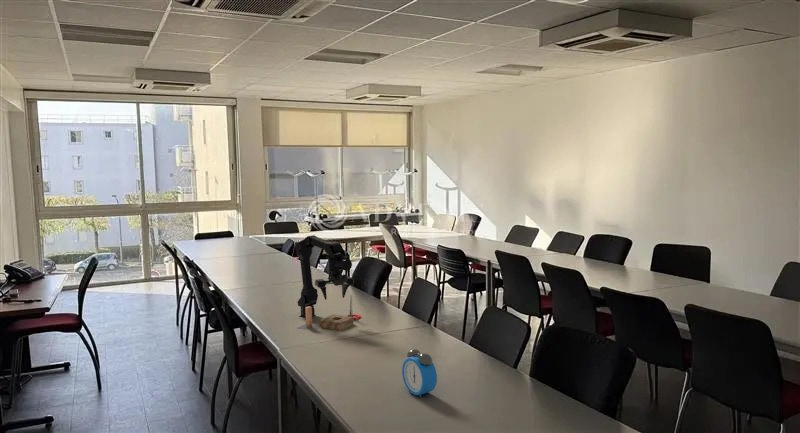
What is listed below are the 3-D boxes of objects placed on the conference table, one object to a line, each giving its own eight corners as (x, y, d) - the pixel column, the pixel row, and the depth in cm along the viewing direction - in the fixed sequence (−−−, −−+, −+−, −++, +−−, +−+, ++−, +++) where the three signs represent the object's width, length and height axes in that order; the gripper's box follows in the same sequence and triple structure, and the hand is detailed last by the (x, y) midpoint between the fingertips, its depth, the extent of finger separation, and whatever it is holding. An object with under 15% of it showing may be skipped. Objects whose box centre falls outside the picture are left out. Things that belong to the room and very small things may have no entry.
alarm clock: (401, 389, 206) (401, 348, 204) (415, 385, 209) (415, 345, 208) (423, 401, 195) (423, 358, 194) (438, 397, 199) (438, 354, 197)
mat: (295, 328, 281) (295, 328, 281) (305, 324, 289) (305, 324, 289) (312, 331, 277) (312, 330, 277) (322, 327, 284) (322, 326, 284)
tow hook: (347, 316, 306) (342, 320, 297) (347, 292, 305) (342, 295, 296) (362, 316, 305) (358, 320, 296) (362, 292, 304) (358, 295, 295)
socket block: (319, 328, 282) (319, 320, 282) (333, 322, 293) (333, 314, 293) (340, 331, 277) (340, 323, 277) (353, 324, 288) (353, 316, 287)
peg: (304, 327, 282) (304, 307, 281) (308, 326, 285) (307, 306, 284) (309, 328, 281) (309, 308, 280) (313, 326, 283) (312, 306, 282)
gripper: (321, 272, 274) (321, 304, 275) (357, 269, 282) (358, 300, 283) (314, 268, 284) (314, 299, 285) (349, 265, 292) (349, 295, 293)
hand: (334, 298), depth 287 cm, fingers open, 9 cm apart
